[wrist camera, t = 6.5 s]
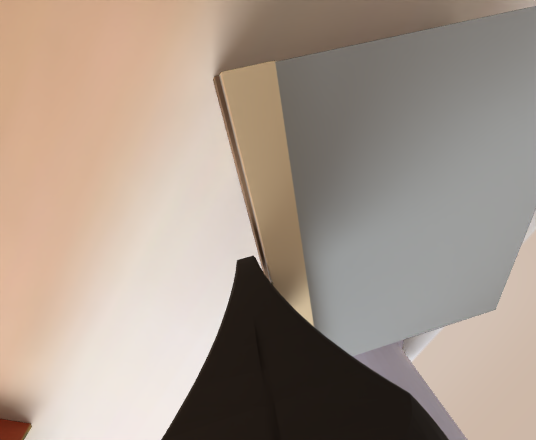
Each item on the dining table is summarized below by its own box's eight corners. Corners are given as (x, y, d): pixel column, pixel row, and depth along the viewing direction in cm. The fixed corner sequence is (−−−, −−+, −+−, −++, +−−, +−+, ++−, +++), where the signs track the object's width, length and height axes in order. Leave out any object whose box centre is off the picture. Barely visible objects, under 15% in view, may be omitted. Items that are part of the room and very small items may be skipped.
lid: (482, 299, 15) (513, 324, 13) (290, 360, 14) (300, 395, 12) (588, -5, 8) (680, -27, 6) (219, 74, 7) (221, 71, 5)
